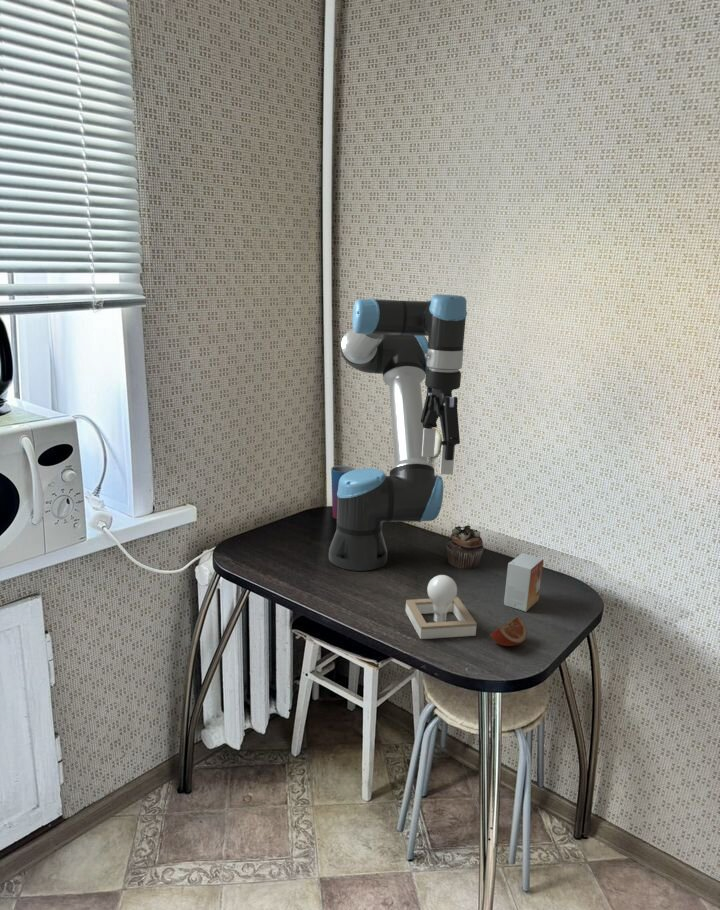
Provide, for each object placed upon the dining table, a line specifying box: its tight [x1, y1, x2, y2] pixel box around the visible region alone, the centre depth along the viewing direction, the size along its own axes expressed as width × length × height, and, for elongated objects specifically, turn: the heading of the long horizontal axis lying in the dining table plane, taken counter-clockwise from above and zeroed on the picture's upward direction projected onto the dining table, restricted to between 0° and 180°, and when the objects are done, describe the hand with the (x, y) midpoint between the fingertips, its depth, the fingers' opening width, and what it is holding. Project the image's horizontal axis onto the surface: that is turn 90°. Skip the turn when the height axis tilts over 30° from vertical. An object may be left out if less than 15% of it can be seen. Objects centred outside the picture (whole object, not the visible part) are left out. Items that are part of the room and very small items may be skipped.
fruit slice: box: [489, 615, 528, 647], centre depth 146 cm, size 8×7×5 cm
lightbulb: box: [426, 574, 458, 622], centre depth 152 cm, size 6×6×11 cm
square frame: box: [405, 596, 478, 640], centre depth 153 cm, size 12×12×3 cm
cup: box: [330, 465, 355, 520], centre depth 212 cm, size 7×7×15 cm
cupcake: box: [445, 524, 484, 570], centre depth 184 cm, size 10×10×10 cm
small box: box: [503, 552, 545, 613], centre depth 163 cm, size 8×6×10 cm
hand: (436, 464), depth 158 cm, fingers open, 13 cm apart
